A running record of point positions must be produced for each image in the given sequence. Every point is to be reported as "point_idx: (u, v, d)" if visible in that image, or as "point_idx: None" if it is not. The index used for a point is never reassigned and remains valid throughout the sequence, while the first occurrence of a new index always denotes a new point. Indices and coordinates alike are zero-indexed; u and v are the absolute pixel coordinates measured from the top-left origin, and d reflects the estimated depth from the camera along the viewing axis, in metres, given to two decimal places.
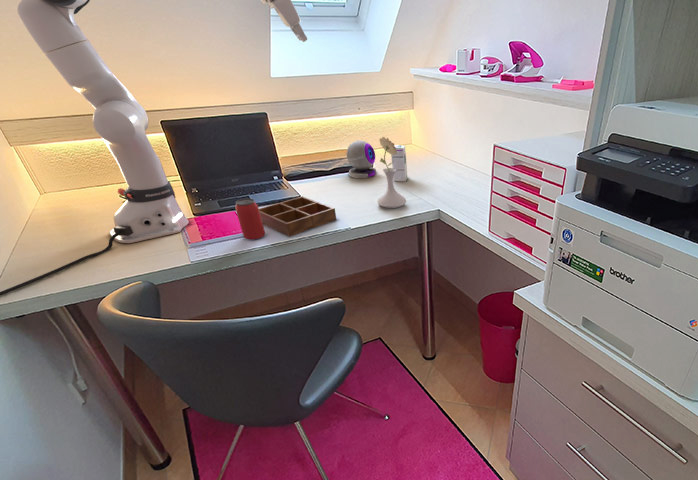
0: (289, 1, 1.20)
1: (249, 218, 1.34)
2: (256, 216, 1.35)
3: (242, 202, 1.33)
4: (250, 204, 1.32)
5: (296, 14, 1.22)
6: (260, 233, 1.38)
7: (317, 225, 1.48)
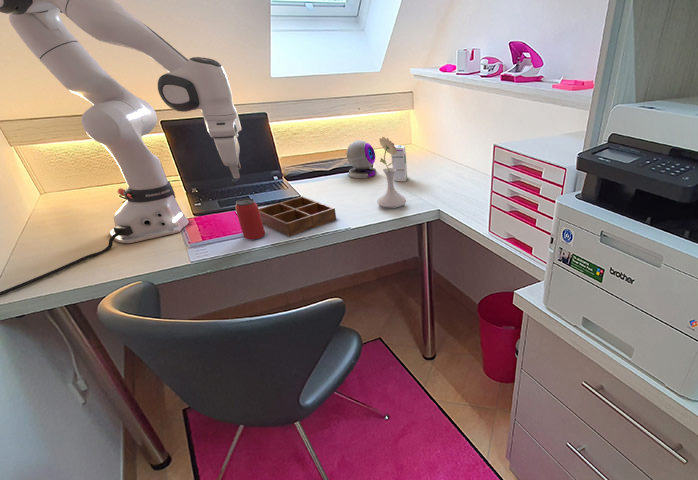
0: (233, 146, 1.16)
1: (249, 218, 1.34)
2: (256, 216, 1.35)
3: (242, 202, 1.33)
4: (250, 204, 1.32)
5: (235, 158, 1.18)
6: (260, 233, 1.38)
7: (317, 225, 1.48)
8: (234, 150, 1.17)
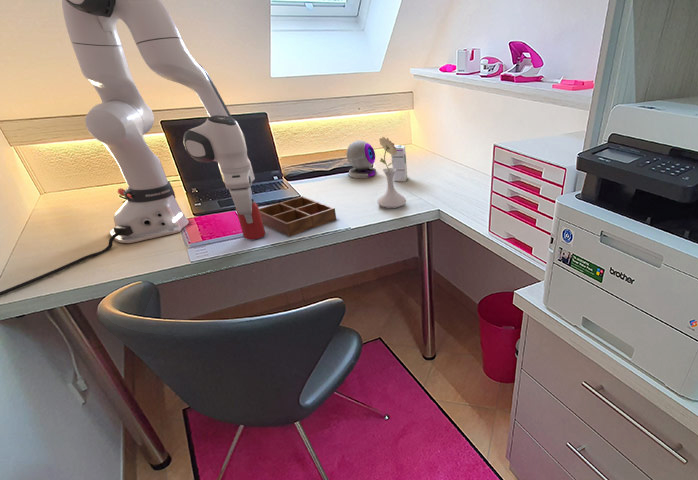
0: (247, 197, 1.24)
1: None
2: (257, 216, 1.35)
3: None
4: None
5: (249, 208, 1.26)
6: (261, 233, 1.38)
7: (317, 225, 1.48)
8: (248, 200, 1.25)
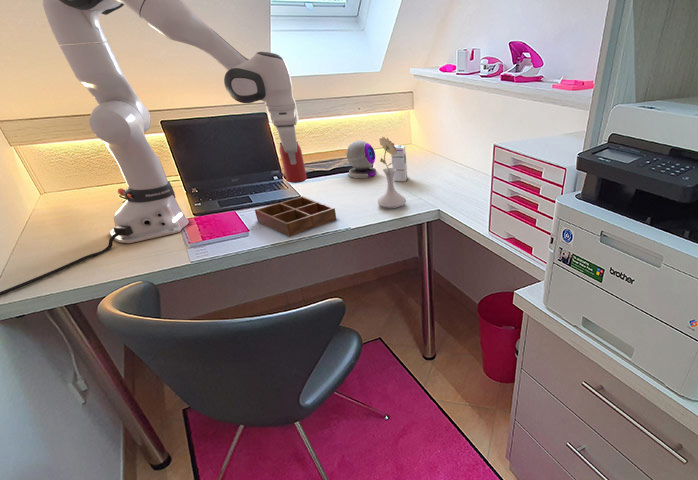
0: (293, 134, 1.25)
1: None
2: (300, 158, 1.36)
3: None
4: None
5: (295, 146, 1.27)
6: (303, 176, 1.39)
7: (317, 225, 1.48)
8: (295, 138, 1.26)
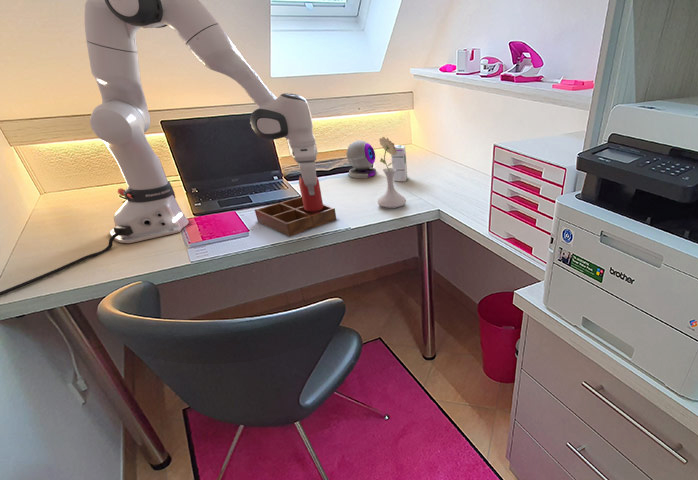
0: (314, 169, 1.34)
1: None
2: (317, 189, 1.45)
3: None
4: None
5: (315, 180, 1.36)
6: (320, 205, 1.48)
7: (317, 225, 1.48)
8: (314, 172, 1.35)
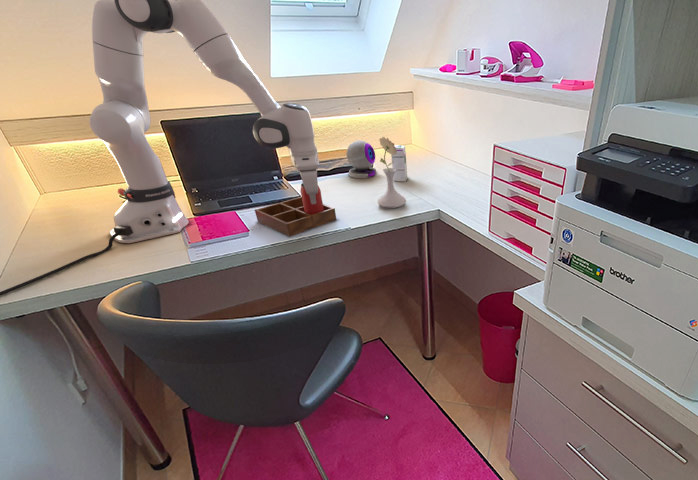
0: (315, 178, 1.36)
1: None
2: (319, 198, 1.47)
3: None
4: None
5: (316, 188, 1.37)
6: None
7: (317, 225, 1.48)
8: (316, 181, 1.36)
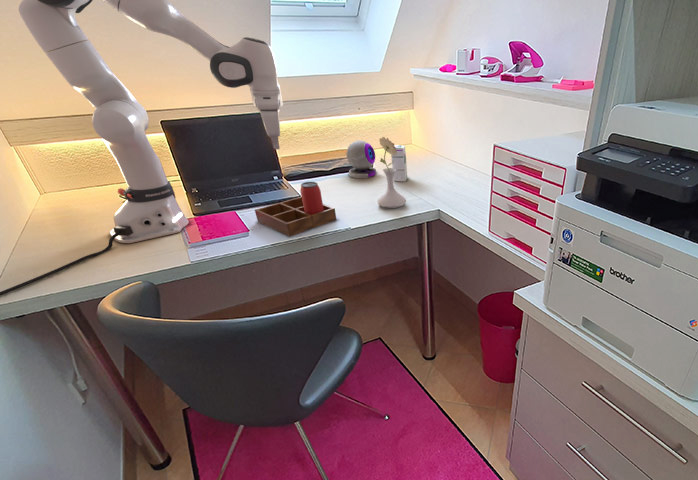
0: (277, 118, 1.29)
1: (313, 199, 1.45)
2: (319, 198, 1.47)
3: (306, 185, 1.45)
4: (314, 186, 1.44)
5: (278, 130, 1.30)
6: None
7: (317, 225, 1.48)
8: (278, 122, 1.30)
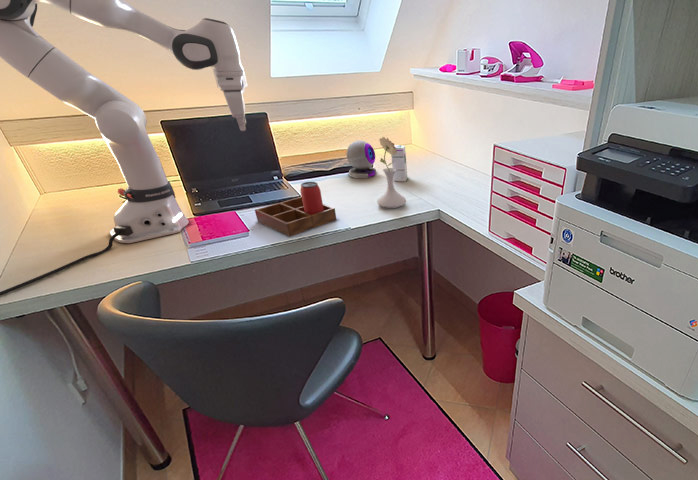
0: (240, 99, 1.30)
1: (313, 199, 1.45)
2: (319, 198, 1.47)
3: (306, 185, 1.45)
4: (314, 186, 1.44)
5: (242, 110, 1.32)
6: None
7: (317, 225, 1.48)
8: (241, 103, 1.31)
